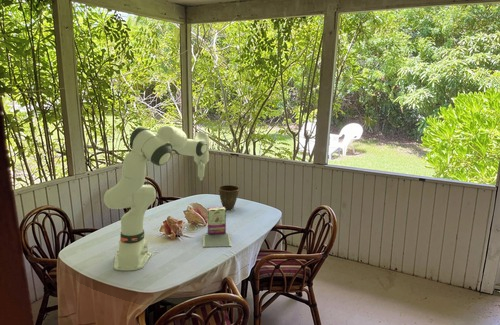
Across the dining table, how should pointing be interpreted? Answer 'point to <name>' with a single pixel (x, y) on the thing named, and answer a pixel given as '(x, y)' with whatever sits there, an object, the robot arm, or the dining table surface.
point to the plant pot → (228, 196)
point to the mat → (216, 240)
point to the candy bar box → (216, 220)
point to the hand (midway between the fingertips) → (201, 179)
